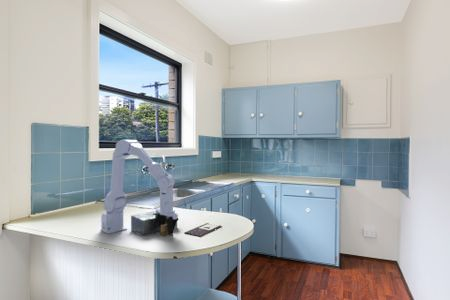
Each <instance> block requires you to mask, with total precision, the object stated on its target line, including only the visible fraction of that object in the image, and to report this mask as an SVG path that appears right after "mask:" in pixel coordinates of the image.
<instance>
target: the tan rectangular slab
mask: <svg viewBox="0 0 450 300" xmlns="http://www.w3.org/2000/svg"><path fill="white" fill-rule="evenodd" d="M172 235H174V233H173V234H168V226H167V224H163V225H161V232H160V237H161V238H164V237H168V236H172Z"/></svg>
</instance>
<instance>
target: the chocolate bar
mask: <svg viewBox="0 0 450 300" xmlns="http://www.w3.org/2000/svg"><path fill="white" fill-rule="evenodd" d="M221 226H222V225H221V224H220V225H219V224H214V223H209V222H206V223H204V224H202V225H199V226H196V227H195V228H192V229H189V230H187V231H185V232H184V235H190V236H195V237H198V238H201V237H203V236H206V235H207V234H210V233H211V232H214V231H216V230H218V229H220V228H222V227H221ZM215 229H216V230H215Z"/></svg>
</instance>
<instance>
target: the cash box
mask: <svg viewBox="0 0 450 300" xmlns="http://www.w3.org/2000/svg"><path fill="white" fill-rule="evenodd" d="M175 213H176V214H178V213H177V212H175ZM156 215H158V214H156V210H152V211H149V212H143V213H139V214H132V215H130V226H131V227H130V228H131V231H132V232H134V233H137V234H139V235H141V236H143V237H146V236H150V235H153V234H158V233H161V231H160V228H159V224H158V221H157V219H156V217H155V216H156ZM167 218H169V217H167ZM167 218H166V219H167ZM166 224H167V222H166ZM177 228H178V222H177V223H176V225H175V228H174V229H177Z"/></svg>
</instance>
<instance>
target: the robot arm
mask: <svg viewBox="0 0 450 300" xmlns="http://www.w3.org/2000/svg"><path fill="white" fill-rule="evenodd" d="M131 155H132V156H136V157H137V158H138V159H139V160H140V161H142V163H143V164H144V165H146V167H147V168H148V171H147V172H148V173H149V174H150V175H151V176H152V177H153V179H155V181H157V183H156V184H157V187H158V188H159V208H156V209H155V211H156V214H158V215H156V216H155V217H156V219H157V221H158V224H159V228H160V231H161V225H163V224H166V222H167V226H168V234H173V235H174V232H175V229H176V228H175V225H176V223H177V224H178V221H179V217H178V216H179V214H178V213H177V212H176V210H174V186H175V184H176V179H175V177H174V175H173V174H170V173H169V172H168V171H166V170H165V169H164V168H163V166H162V164H161V163H159V162H155V161H154V160H153V159H152V158H151V157H150V155H149V154H148V153H147V151H146V150H145V149H144V147H143V145H142V144H141V143H140V142H139V141H138V140H137V139H121V140H119V141H118V142H116V143H115V148H114V151H113V153H112V162H111V164H112V165H111V177H110V191H109V192H108V193H107V194H106V196H105V199H104V201H103V209H104V210H105V212H104V213H101V217H100V219H101V220H100V223H101V229H100V231H101V232H104V233H105V234H112V233H113V234H114V233H117V232H122V231H126V230H128V227H125V226H124V210H125V207H126V206H127V199H126V193H125V192H124V190H123V189H124V177H125V175H124V174H125V162H126V161H125V159H127V158H128V157H129V156H131ZM176 213H177V214H176ZM167 217H169V218H167ZM166 218H167V219H166Z"/></svg>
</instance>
